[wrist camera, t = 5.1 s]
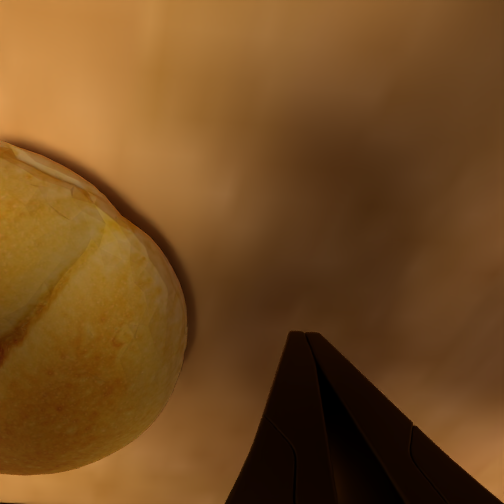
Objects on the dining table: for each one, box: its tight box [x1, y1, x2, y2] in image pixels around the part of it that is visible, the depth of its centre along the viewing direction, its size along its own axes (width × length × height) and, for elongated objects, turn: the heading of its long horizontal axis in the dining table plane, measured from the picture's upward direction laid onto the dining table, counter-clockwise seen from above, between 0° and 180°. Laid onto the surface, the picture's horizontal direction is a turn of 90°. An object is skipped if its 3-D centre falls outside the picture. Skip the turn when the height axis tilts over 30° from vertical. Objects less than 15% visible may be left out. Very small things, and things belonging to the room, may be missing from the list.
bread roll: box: [0, 141, 187, 475], centre depth 8 cm, size 8×9×4 cm
